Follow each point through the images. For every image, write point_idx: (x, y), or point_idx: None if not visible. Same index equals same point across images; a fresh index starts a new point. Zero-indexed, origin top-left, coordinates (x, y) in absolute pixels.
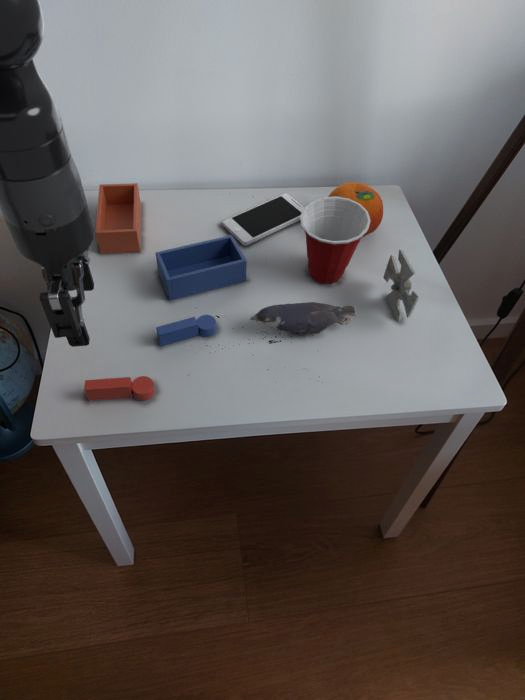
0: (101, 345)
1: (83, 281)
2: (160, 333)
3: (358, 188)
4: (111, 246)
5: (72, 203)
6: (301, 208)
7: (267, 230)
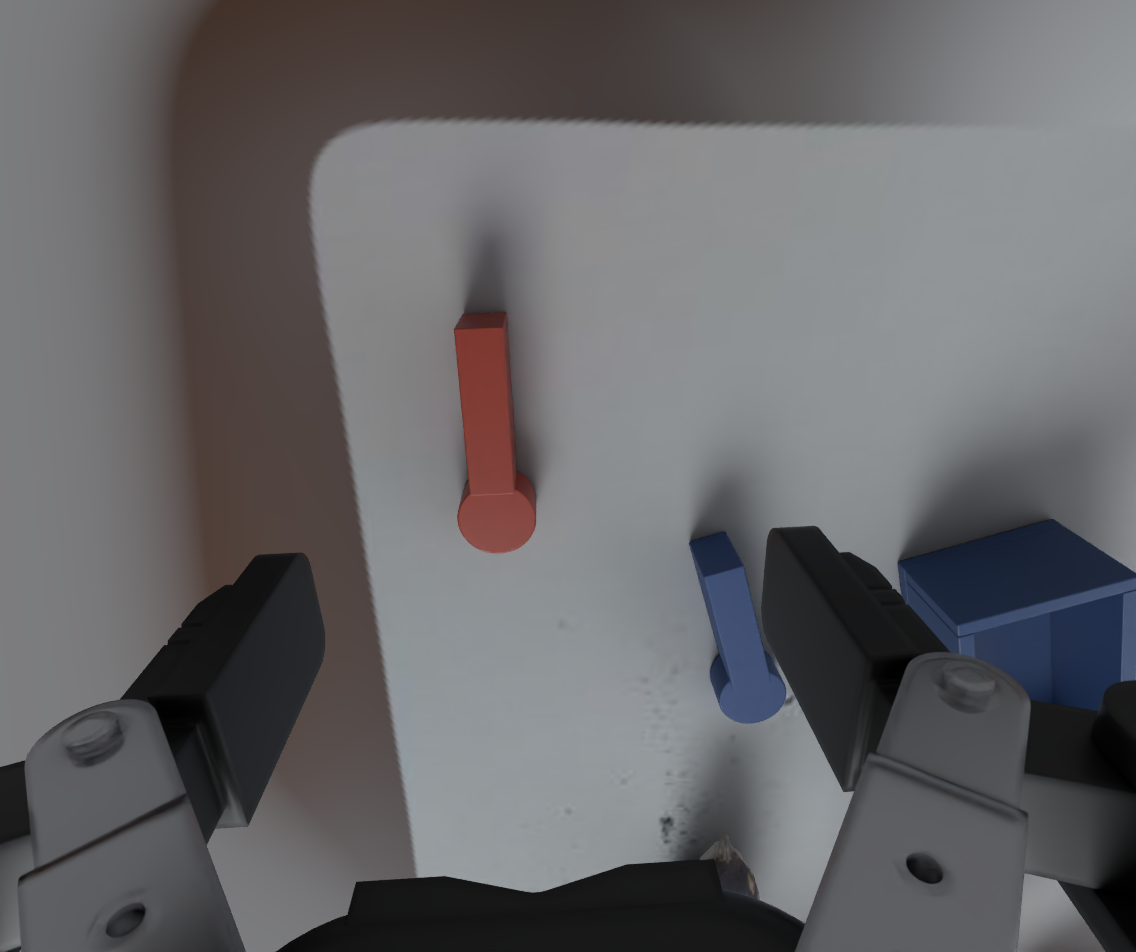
0: (723, 334)
1: (795, 636)
2: (709, 582)
3: None
4: None
5: None
6: None
7: None
